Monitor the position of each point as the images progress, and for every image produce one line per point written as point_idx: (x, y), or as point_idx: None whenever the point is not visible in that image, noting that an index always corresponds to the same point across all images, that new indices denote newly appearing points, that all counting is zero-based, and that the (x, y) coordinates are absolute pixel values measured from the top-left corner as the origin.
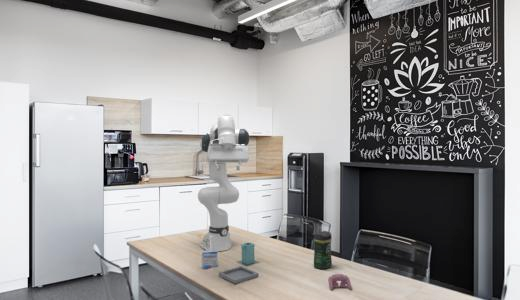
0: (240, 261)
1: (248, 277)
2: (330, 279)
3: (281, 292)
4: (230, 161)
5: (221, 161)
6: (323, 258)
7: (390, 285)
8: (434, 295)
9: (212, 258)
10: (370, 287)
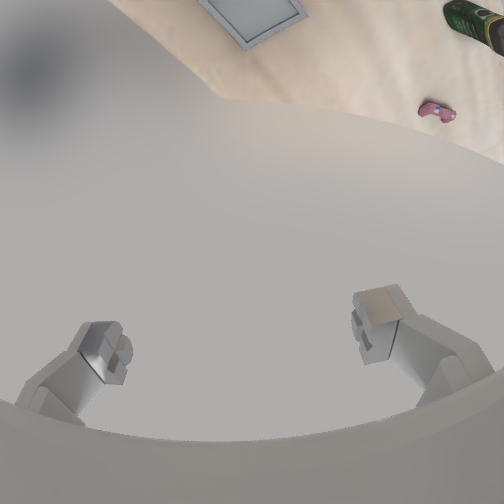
0: None
1: (280, 30)
2: (429, 113)
3: (338, 98)
4: (278, 460)
5: (82, 443)
6: (468, 35)
7: (487, 124)
8: (495, 160)
9: None
10: (466, 121)
